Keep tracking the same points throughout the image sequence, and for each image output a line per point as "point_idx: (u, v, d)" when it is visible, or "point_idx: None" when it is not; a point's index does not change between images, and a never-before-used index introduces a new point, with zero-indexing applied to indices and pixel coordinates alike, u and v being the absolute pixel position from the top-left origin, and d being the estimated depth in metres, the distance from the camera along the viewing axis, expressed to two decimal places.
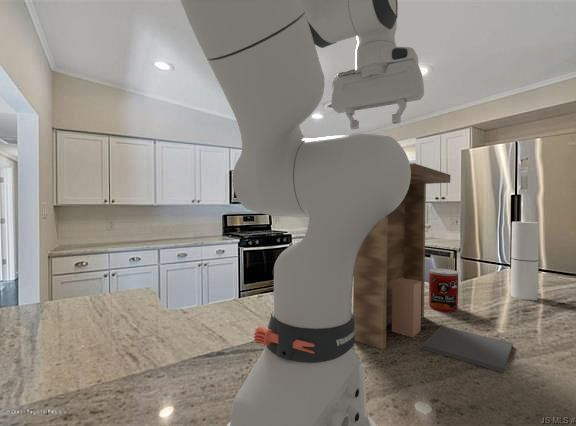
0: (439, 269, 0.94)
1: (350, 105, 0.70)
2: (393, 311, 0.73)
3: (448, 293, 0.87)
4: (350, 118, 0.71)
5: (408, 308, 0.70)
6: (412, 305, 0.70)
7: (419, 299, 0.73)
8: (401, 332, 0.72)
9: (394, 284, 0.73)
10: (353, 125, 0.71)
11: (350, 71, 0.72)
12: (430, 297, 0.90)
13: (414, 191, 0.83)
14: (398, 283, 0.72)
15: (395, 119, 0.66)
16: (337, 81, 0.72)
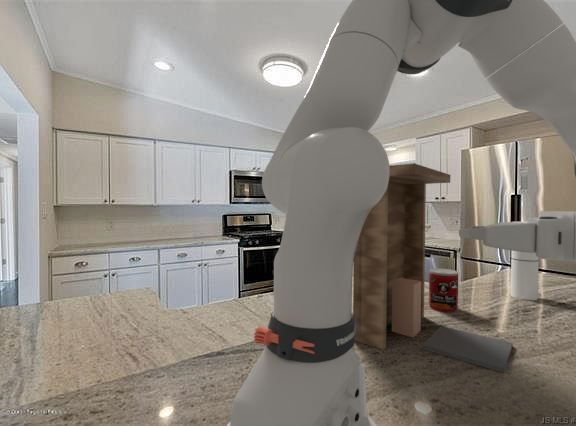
0: (439, 269, 0.94)
1: None
2: (393, 311, 0.73)
3: (448, 293, 0.87)
4: (482, 226, 0.67)
5: (408, 308, 0.70)
6: (412, 305, 0.70)
7: (419, 299, 0.73)
8: (401, 332, 0.72)
9: (394, 284, 0.73)
10: (472, 226, 0.68)
11: None
12: (430, 297, 0.90)
13: (414, 191, 0.83)
14: (398, 283, 0.72)
15: (463, 228, 0.61)
16: None
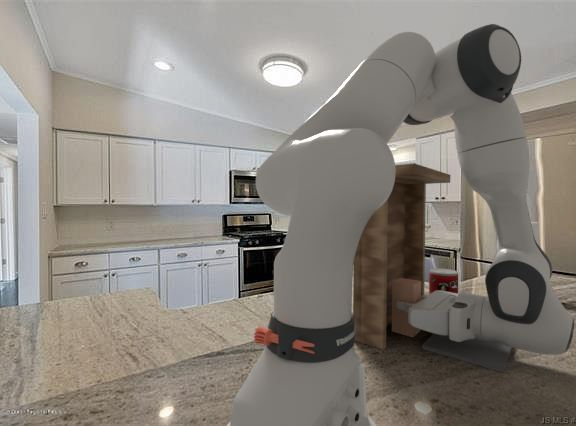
0: (439, 269, 0.94)
1: (431, 293, 0.74)
2: (393, 311, 0.73)
3: None
4: None
5: None
6: None
7: (419, 299, 0.73)
8: (401, 332, 0.72)
9: (394, 284, 0.73)
10: None
11: None
12: None
13: (414, 191, 0.83)
14: (398, 283, 0.72)
15: (400, 301, 0.71)
16: None
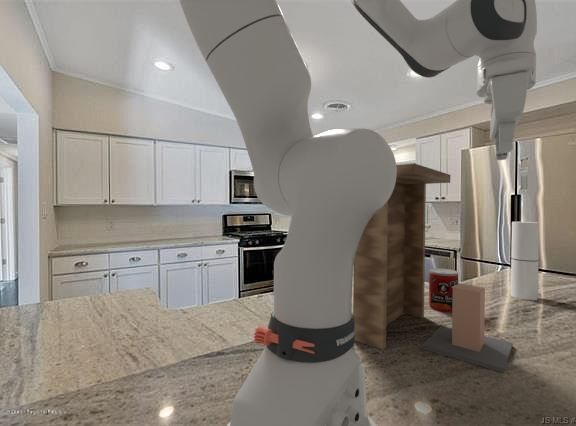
0: (439, 269, 0.94)
1: (491, 135, 0.62)
2: (454, 321, 0.64)
3: (448, 293, 0.87)
4: None
5: (473, 318, 0.62)
6: (478, 315, 0.61)
7: (483, 308, 0.64)
8: (464, 345, 0.63)
9: (455, 291, 0.64)
10: (496, 157, 0.61)
11: None
12: (430, 297, 0.90)
13: (414, 191, 0.83)
14: (460, 290, 0.63)
15: (499, 149, 0.53)
16: None
